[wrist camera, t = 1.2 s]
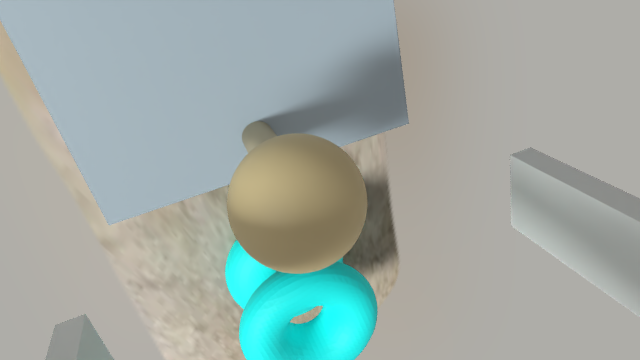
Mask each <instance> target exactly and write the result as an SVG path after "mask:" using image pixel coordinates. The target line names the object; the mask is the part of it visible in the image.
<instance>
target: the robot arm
mask: <svg viewBox="0 0 640 360" xmlns="http://www.w3.org/2000/svg"><path fill="white" fill-rule="evenodd" d="M510 175H511V176H510V177H511V226H512V227H514V228H515V229H516V230H518V231H520V232H521V233H522V234H523V235H525V236H526V237H528V238H529V239H530V240H532V241H533V242H535V243H536V244H537V245H539V246H540V247H542V248H543V249H544V250H546V251H547V252H549V253H550V254H552V255H553V256H554V257H556V258H557V259H558V260H560V261H561V262H563V263H564V264H565V265H567V266H568V267H570V268H571V269H573V270H574V271H575V272H577V273H578V274H580V275H581V276H582V277H584V278H585V279H587V280H588V281H589V282H591V283H592V284H594V285H595V286H597V287H598V288H599V289H601V290H602V291H603V292H605V293H606V294H608V295H609V296H611V297H612V298H613V299H615V300H616V301H617V302H619V303H620V304H622V305H623V306H625V307H626V308H627V309H629V310H630V311H631V312H633V313H634V314H636V315H637V316H638V317H640V199H639V198H637V197H635V196H633V195H631V194H629V193H627V192H625V191H623V190H620V189H618V188H616V187H614V186H612V185H610V184H608V183H605V182H603V181H601V180H599V179H597V178H595V177H593V176H591V175H588V174H586V173H584V172H582V171H580V170H578V169H576V168H573V167H571V166H569V165H567V164H565V163H563V162H561V161H558V160H556V159H554V158H552V157H550V156H548V155H545V154H543V153H541V152H539V151H537V150H535V149H533V148H528V149H525V150H523V151H520V152H517V153H514V154H512V155H510ZM46 360H114V359H113V357H112V356H111V355H110V352H109V351H108V349H107V348H106V346H105V344H104V343H103V341H102V340H101V338H100V337H99V335H98V333H97V332H96V330H95V328H94V327H93V325H92V324H91V322H90V320H89V319H88V318H87V316H86V314H84V315H81V316H79V317H76V318H73V319H70V320H68V321H65V322H62V323H60V324H57V325H55V328H54V331H53V335H52V338H51V342H50V346H49V349H48V353H47V356H46Z"/></svg>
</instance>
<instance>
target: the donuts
mask: <svg viewBox="0 0 640 360" xmlns="http://www.w3.org/2000/svg"><path fill="white" fill-rule="evenodd" d="M225 276H226V282H227V286H228V289H229V291H230V293H231V295H232V297H233V298H234V300H235V301H236V302H237V303H238V304H239V305H240V306H241V307H242V308H243V309H244V311H243V313H242V317H241V321H240V328H239V338H240V344H241V348H242V351H243V354H244V356H245V357H246V359H247V360H354V359H355V358H356V357H357V356H358V355H359V354H360V353H361V352H362V350H363V349H364V348H365V347H366V345H367V343H368V341H369V340H370V338H371V336H372V334H373V332H374V329H375V325H376V320H377V301H376V298H375V294H374V291H373V289H372V287H371V286H370V284H369V282H368V281H367V280H366V278H365V277H364V276H363V275H362V274H361V273H359V272H358V271H357V270H356V269H354V268H352V267H351V266H349V265H346V264H344V263H343V257H342V258H341V259H339V260H338V261H337V262H335V263H333V264H332V265H330V266H328V267H326V268H324V269H321V270H318V271H315V272H310V273H303V274H292V273H284V272H280V271H277V272H276V270H273V269H271V268H268V267H266V266H264V265H262V264H261V263H259V262H258V261H256V260H255V259H254V258H252V257H251V256H250V255H249V254H248V253H247V252H246V251H245V250H244V249H243V248H242V246H241V245H240V244H239V242H238V241H237V240H236V241H235V243H234V244H233V246H232V248H231V250H230V252H229V255H228V258H227V262H226V269H225ZM316 306H323V308H322V310H321V312H320V313H319V315H318V316H316V317H315V318H314V319H312V320H311V321H309V322H306V323H302V324H294V323H291V322H290V321H291V319H292V318H293V317H295V316H298V315H301V314H304V313H306V312H308V311H310V310H311V309H313V308H315V307H316Z"/></svg>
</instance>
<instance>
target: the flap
mask: <svg viewBox="0 0 640 360" xmlns="http://www.w3.org/2000/svg"><path fill="white" fill-rule="evenodd" d="M0 20H1V22H2V24H3V26H4V28H5V30H6V32H7V34H8V36H9V37H10V39H11V41H12V43H13V45H14V47H15V49H16V51H17V53H18V54H19V56H20V58H21V60H22V62H23V64H24V66H25V68H26V70H27V71H28V73H29V75H30V77H31V79H32V81H33V83H34V85H35V87H36V88H37V90H38V92H39V94H40V96H41V98H42V100H43V102H44V104H45V105H46V107H47V109H48V111H49V113H50V115H51V117H52V119H53V121H54V123H55V124H56V126H57V128H58V130H59V132H60V134H61V136H62V138H63V140H64V141H65V143H66V145H67V147H68V149H69V151H70V153H71V155H72V157H73V158H74V160H75V162H76V164H77V166H78V168H79V170H80V172H81V174H82V175H83V177H84V179H85V181H86V183H87V185H88V187H89V189H90V191H91V193H92V194H93V196H94V198H95V200H96V202H97V204H98V206H99V208H100V210H101V211H102V213H103V215H104V217H105V219H106V221H107V223H108V225H111V224H114V223H117V222H120V221H123V220H126V219H129V218H132V217H135V216H138V215H141V214H144V213H147V212H150V211H153V210H155V209H158V208H161V207H164V206H167V205H170V204H173V203H176V202H179V201H182V200H185V199H188V198H191V197H194V196H197V195H200V194H203V193H206V192H208V191H211V190H214V189H217V188H220V187H223V186H226V185H229V184H230V185H229V190H228V196H227V211H228V218H229V222H230V226H231V228H232V231H233V233H234V235H235V237H236V239H237V241H238V242H239V244H240V245H241V246H242V248H243V249H244V250H245V251H246V252H247V253H248V254H249V255H250V256H251V257H252V258H254V259H255V260H256V261H258V262H259V263H261V264H262V265H264V266H266V267H268V268H271V269H273V270H276V271H280V272H284V273H292V274H303V273H310V272H315V271H318V270H321V269H324V268H326V267H328V266H330V265H332V264H333V263H335V262H337V261H338V260H339V259H341V258H342V257H343V256H344V255H345V254H346V253H347V252H348V251H349V250H350V249H351V248H352V247H353V245H354V244H355V243H356V241H357V239H358V238H359V236H360V234H361V231H362V229H363V227H364V223H365V220H366V214H367V192H366V187H365V183H364V180H363V178H362V176H361V173H360V171H359V169H358V167H357V166H356V164H355V163H354V161H353V160H352V159H351V158H350V157H349V156H348V154H347V153H346V152H344V151H343V150H342V149H341V148H340V147H341V146H344V145H347V144H350V143H353V142H356V141H359V140H362V139H365V138H368V137H370V136H373V135H376V134H379V133H382V132H385V131H388V130H391V129H394V128H397V127H400V126H403V125H406V124H408V123H409V122H408V113H407V105H406V97H405V89H404V80H403V73H402V64H401V56H400V48H399V40H398V32H397V24H396V16H395V8H394V1H393V0H0Z"/></svg>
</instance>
